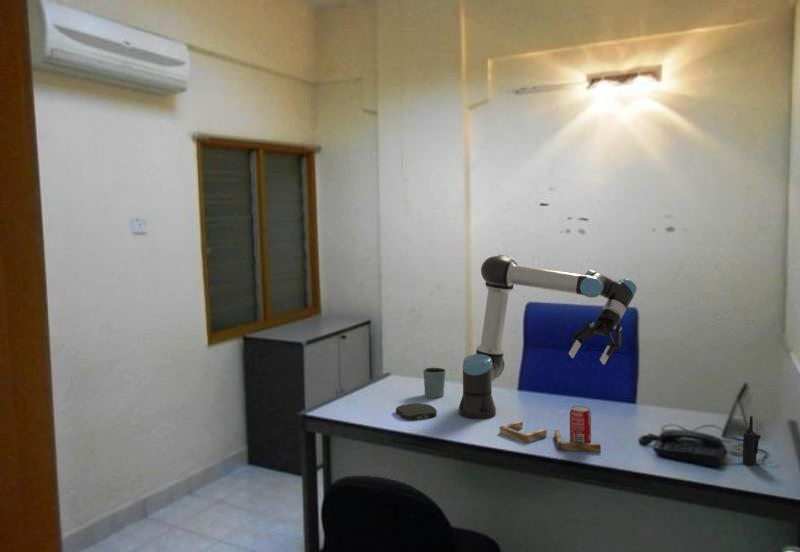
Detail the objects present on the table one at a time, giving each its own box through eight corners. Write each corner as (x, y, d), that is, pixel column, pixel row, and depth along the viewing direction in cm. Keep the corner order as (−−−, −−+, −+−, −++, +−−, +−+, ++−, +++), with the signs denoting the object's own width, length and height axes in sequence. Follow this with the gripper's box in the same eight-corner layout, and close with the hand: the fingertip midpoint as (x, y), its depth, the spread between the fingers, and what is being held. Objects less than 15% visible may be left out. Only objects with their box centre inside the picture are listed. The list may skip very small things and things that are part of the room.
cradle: (556, 436, 219) (556, 429, 219) (602, 451, 204) (602, 444, 204) (537, 442, 213) (537, 435, 213) (583, 458, 198) (583, 451, 198)
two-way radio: (746, 459, 196) (748, 413, 195) (761, 462, 193) (763, 416, 192) (740, 463, 192) (742, 417, 191) (756, 467, 189) (758, 420, 188)
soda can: (592, 448, 206) (593, 411, 205) (571, 448, 207) (571, 411, 206) (588, 441, 214) (589, 405, 212) (567, 440, 214) (568, 405, 213)
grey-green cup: (418, 395, 274) (418, 369, 273) (434, 391, 281) (434, 366, 280) (435, 400, 267) (434, 373, 266) (450, 395, 274) (450, 369, 273)
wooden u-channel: (519, 427, 229) (519, 420, 229) (546, 436, 219) (546, 429, 219) (499, 433, 223) (499, 426, 223) (526, 442, 213) (526, 436, 212)
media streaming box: (425, 408, 257) (425, 401, 256) (439, 417, 243) (439, 410, 243) (393, 412, 251) (393, 405, 251) (406, 422, 238) (406, 414, 238)
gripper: (645, 324, 220) (620, 371, 212) (587, 317, 240) (563, 359, 232) (637, 311, 216) (611, 358, 208) (579, 304, 236) (554, 347, 228)
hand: (586, 359), depth 220 cm, fingers open, 13 cm apart
